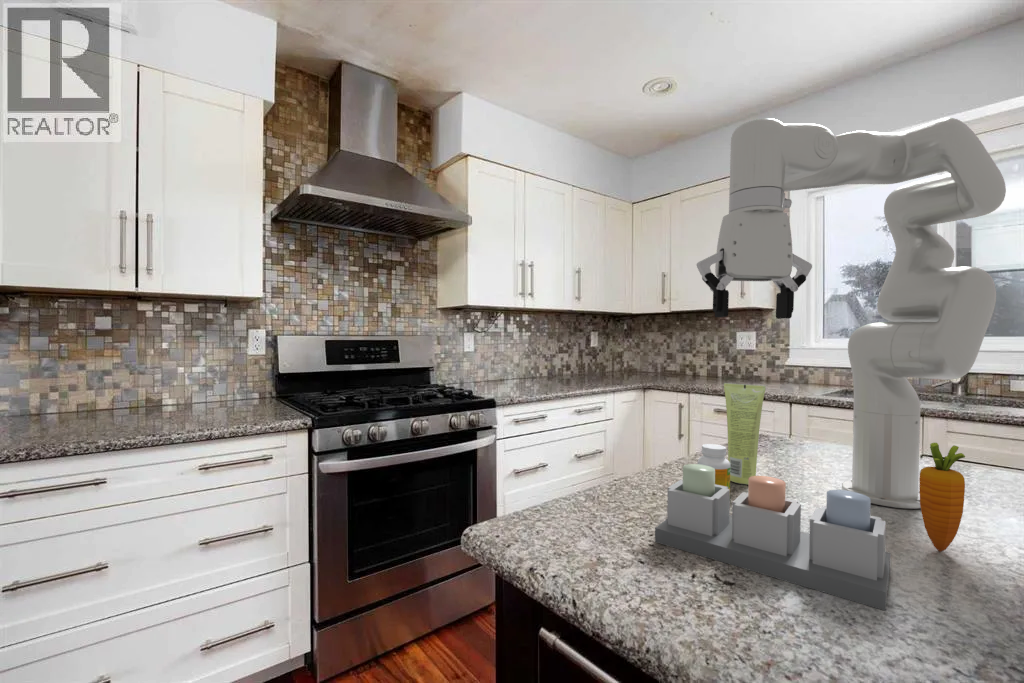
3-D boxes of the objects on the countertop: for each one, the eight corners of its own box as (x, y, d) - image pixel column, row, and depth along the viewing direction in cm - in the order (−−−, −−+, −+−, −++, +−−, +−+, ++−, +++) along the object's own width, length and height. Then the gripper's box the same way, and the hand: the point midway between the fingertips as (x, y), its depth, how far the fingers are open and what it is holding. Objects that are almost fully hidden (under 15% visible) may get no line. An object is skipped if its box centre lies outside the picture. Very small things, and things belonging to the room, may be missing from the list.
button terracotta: (752, 509, 68) (753, 473, 68) (788, 516, 65) (788, 480, 65) (744, 518, 65) (744, 481, 64) (781, 527, 62) (781, 488, 62)
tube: (746, 476, 99) (747, 382, 99) (764, 484, 94) (765, 385, 94) (722, 478, 98) (723, 382, 98) (739, 486, 93) (740, 385, 93)
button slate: (828, 525, 62) (829, 487, 62) (871, 535, 59) (871, 495, 59) (823, 537, 59) (824, 496, 59) (868, 547, 56) (869, 504, 56)
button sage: (688, 494, 74) (689, 462, 74) (718, 501, 71) (719, 467, 71) (677, 502, 70) (678, 468, 70) (708, 510, 67) (709, 474, 67)
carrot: (952, 546, 67) (955, 439, 67) (973, 562, 63) (976, 448, 62) (909, 541, 69) (912, 437, 69) (926, 556, 64) (929, 444, 64)
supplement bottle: (733, 507, 82) (734, 450, 82) (699, 505, 83) (700, 449, 83) (725, 496, 87) (726, 443, 87) (694, 494, 88) (695, 442, 88)
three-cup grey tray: (685, 516, 78) (686, 473, 78) (890, 568, 61) (891, 513, 61) (654, 541, 69) (655, 493, 69) (885, 610, 52) (886, 546, 52)
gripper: (796, 213, 78) (793, 319, 78) (690, 211, 78) (687, 317, 78) (827, 200, 70) (824, 318, 71) (709, 198, 70) (706, 315, 70)
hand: (752, 317), depth 74 cm, fingers open, 9 cm apart
